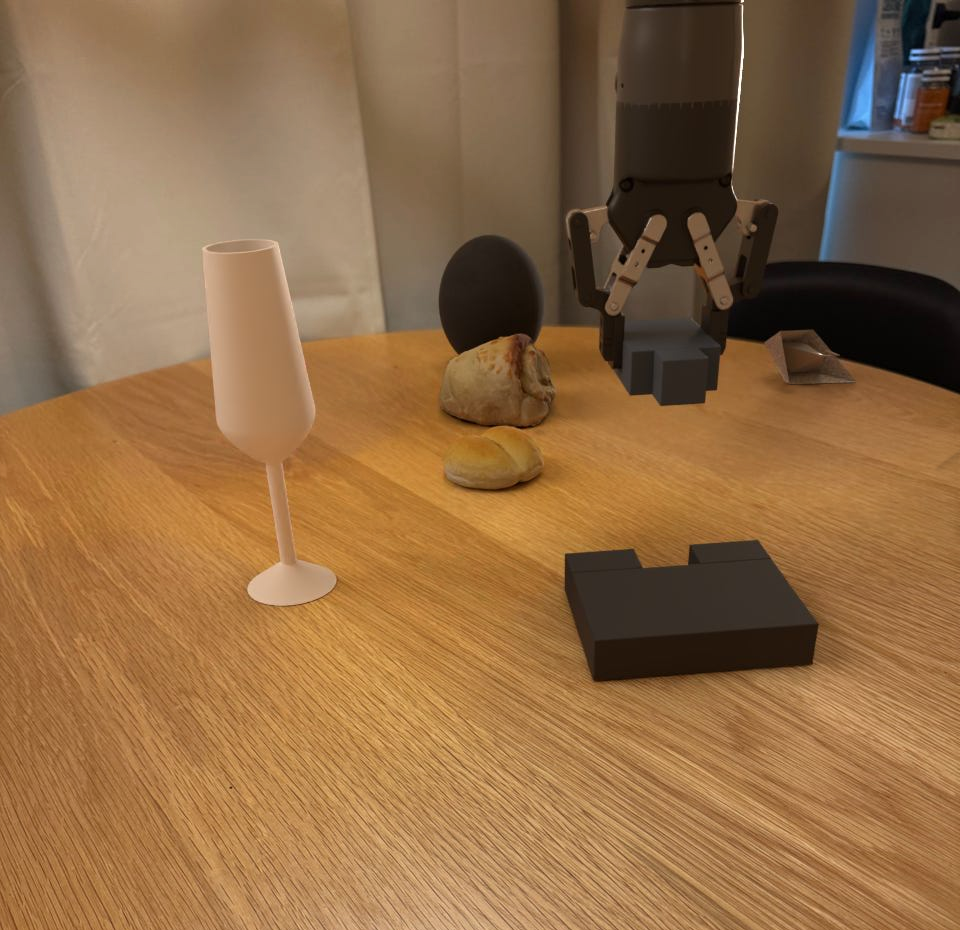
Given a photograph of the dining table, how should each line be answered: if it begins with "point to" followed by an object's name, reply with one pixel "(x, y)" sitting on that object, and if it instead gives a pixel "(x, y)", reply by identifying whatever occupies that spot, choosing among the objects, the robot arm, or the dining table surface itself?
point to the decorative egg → (490, 293)
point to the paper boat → (805, 358)
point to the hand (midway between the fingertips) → (661, 362)
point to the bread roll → (493, 459)
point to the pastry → (499, 383)
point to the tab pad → (669, 361)
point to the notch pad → (687, 612)
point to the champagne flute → (262, 391)
